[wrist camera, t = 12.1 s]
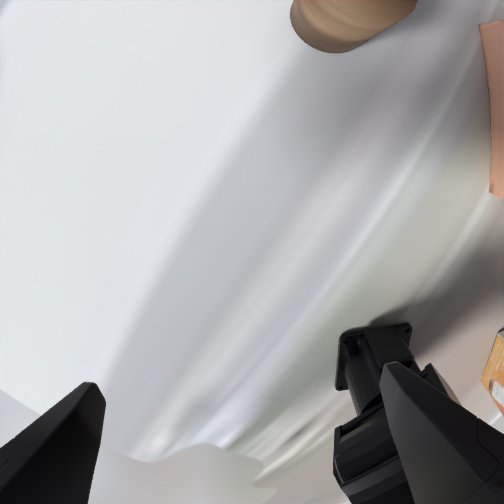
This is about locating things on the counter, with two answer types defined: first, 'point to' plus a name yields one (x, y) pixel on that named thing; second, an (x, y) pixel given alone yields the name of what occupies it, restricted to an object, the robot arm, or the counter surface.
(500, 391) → the small box
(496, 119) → the shallow square tray
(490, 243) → the counter surface
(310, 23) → the walnut knob
